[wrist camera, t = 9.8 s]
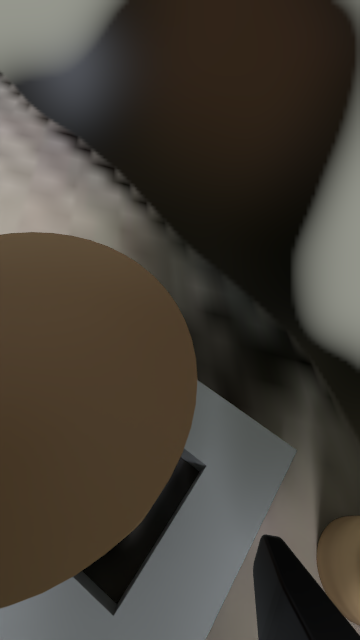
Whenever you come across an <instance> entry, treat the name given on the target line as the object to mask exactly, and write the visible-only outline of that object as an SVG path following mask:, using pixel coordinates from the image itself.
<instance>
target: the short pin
mask: <svg viewBox="0 0 360 640" xmlns="http://www.w3.org/2000/svg"><path fill="white" fill-rule="evenodd" d="M317 567H318V572H319V576H320V580H321V583H322V585H323V588H324V590H325V592H326V594H327V596H328V597H329V598H330V599H331V601H332V602H333V603H334V604H335V606H336V607H337V608H338V609H339V611H340V612H341V613H342V614H343V616H345V617H346V618H347V619H348V620H350V621H351V622H353V623H355V624H357V625H359V626H360V516H344V517H340V518H337V519H335V520H333V521H332V522H331V523H329V524H328V525H327V527H326V528H325V529H324V531H323V532H322V534H321V536H320V539H319V542H318V548H317Z"/></svg>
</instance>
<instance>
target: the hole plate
mask: <svg viewBox="0 0 360 640" xmlns="http://www.w3.org/2000/svg"><path fill="white" fill-rule="evenodd" d="M296 452H297V450H296V449H295V448H293V447H292V446H290V445H289V444H288V443H286V442H285V441H283V440H282V439H280V438H279V437H278V436H276V435H275V434H273V433H272V432H270V431H269V430H268V429H266V428H265V427H263V426H262V425H261V424H259V423H258V422H256V421H255V420H253V419H252V418H251V417H249V416H248V415H246V414H245V413H244V412H242V411H241V410H239V409H238V408H236V407H235V406H234V405H232V404H231V403H229V402H228V401H226V400H225V399H224V398H222V397H221V396H219V395H218V394H217V393H215V392H214V391H212V390H211V389H209V388H208V387H207V386H205V385H204V384H202V383H201V382H200V381H198V380H197V395H196V406H195V411H194V415H193V420H192V425H191V429H190V432H189V435H188V438H187V441H186V444H185V447H184V450H183V453H182V455H181V458H183V459H184V460H185V461H187V462H188V463H189V464H190V465H192V466H193V467H194V468H196V469H197V470H198V471H199V474H198V476H197V477H196V479H195V480H194V482H193V484H192V485H191V487H190V488H189V490H188V492H187V493H186V495H185V496H184V498H183V500H182V501H181V503H180V504H179V506H178V508H177V509H176V511H175V512H174V514H173V516H172V517H171V519H170V520H169V522H168V524H167V525H166V527H165V528H164V530H163V532H162V533H161V535H160V536H159V538H158V540H157V541H156V543H155V544H154V546H153V548H152V549H151V551H150V552H149V554H148V556H147V557H146V559H145V560H144V562H143V564H142V565H141V567H140V568H139V570H138V572H137V573H136V575H135V576H134V578H133V580H132V581H131V583H130V584H129V586H128V588H127V589H126V591H125V592H124V594H123V596H122V597H121V599H120V600H119V602H118V604H116V603H115V602H114V601H113V600H112V599H111V598H110V597H109V596H108V595H107V594H106V593H104V592H103V591H102V590H101V589H100V588H99V587H98V586H97V585H96V584H95V583H94V582H93V581H92V580H91V579H90V578H89V577H88V576H87V575H86V574H85V573H84V572H83V571H81V572H80V573H78V574H77V575H75V576H73V577H72V578H70V579H68V580H66V581H64V582H62V583H60V584H59V585H57V586H55V587H53V588H51V589H49V590H47V591H46V592H44V593H42V594H39V595H36V596H34V597H31V598H29V599H26V600H23V601H21V602H18V603H15V604H13V605H10V606H7V607H4V608H0V640H206V638H207V636H208V634H209V631H210V629H211V627H212V625H213V623H214V621H215V619H216V617H217V615H218V613H219V611H220V609H221V607H222V605H223V603H224V600H225V598H226V596H227V594H228V592H229V590H230V588H231V586H232V584H233V582H234V580H235V578H236V576H237V574H238V572H239V570H240V567H241V565H242V563H243V561H244V559H245V557H246V555H247V553H248V551H249V549H250V547H251V545H252V543H253V541H254V539H255V536H256V534H257V532H258V530H259V528H260V526H261V524H262V522H263V520H264V518H265V516H266V514H267V512H268V510H269V508H270V506H271V503H272V501H273V499H274V497H275V495H276V493H277V491H278V489H279V487H280V485H281V483H282V481H283V479H284V477H285V475H286V472H287V470H288V468H289V466H290V464H291V462H292V460H293V458H294V456H295V454H296Z"/></svg>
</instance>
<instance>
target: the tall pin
mask: <svg viewBox="0 0 360 640" xmlns="http://www.w3.org/2000/svg"><path fill="white" fill-rule="evenodd" d="M196 395H197V366H196V356H195V352H194V347H193V342H192V338H191V335H190V332H189V330H188V327H187V324H186V321H185V319H184V317H183V315H182V313H181V312H180V310H179V308H178V306H177V304H176V303H175V301H174V300H173V298H172V297H171V296H170V294H169V293H168V291H167V290H166V289H165V288H164V286H163V285H162V284H161V283H160V282H159V281H158V280H157V279H156V278H155V277H154V276H153V275H152V274H151V273H149V272H148V271H147V270H146V269H145V268H143V267H142V266H141V265H140V264H138V263H137V262H135V261H134V260H132V259H130V258H129V257H127V256H126V255H124V254H122V253H120V252H118V251H116V250H114V249H112V248H110V247H108V246H105V245H102V244H99V243H96V242H93V241H91V240H87V239H83V238H78V237H74V236H69V235H62V234H54V233H36V232H29V233H11V234H3V235H0V608H4V607H7V606H10V605H13V604H15V603H18V602H21V601H23V600H26V599H29V598H31V597H34V596H36V595H39V594H42V593H44V592H46V591H47V590H49V589H51V588H53V587H55V586H57V585H59V584H60V583H62V582H64V581H66V580H68V579H70V578H72V577H73V576H75V575H77V574H78V573H80V572H81V571H82V570H84V569H85V568H87V567H88V566H89V565H91V564H92V563H93V562H95V561H96V560H98V559H99V558H100V557H102V556H103V555H105V554H106V553H107V552H108V551H109V550H111V549H112V548H113V547H114V546H115V545H117V544H118V543H119V542H120V541H121V540H123V539H124V538H125V537H126V536H127V535H128V534H130V533H131V532H132V531H133V530H134V529H135V528H136V527H138V526H139V524H140V523H141V522H142V521H143V520H144V518H145V517H146V515H147V513H148V512H149V510H150V509H151V507H152V506H153V504H154V503H155V501H156V499H157V498H158V496H159V495H160V493H161V492H162V490H163V489H164V487H165V485H166V484H167V482H168V481H169V479H170V477H171V475H172V473H173V471H174V469H175V467H176V465H177V463H178V461H179V459H180V457H181V455H182V453H183V450H184V447H185V444H186V441H187V438H188V435H189V432H190V429H191V425H192V420H193V415H194V411H195V406H196Z"/></svg>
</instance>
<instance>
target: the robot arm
mask: <svg viewBox="0 0 360 640" xmlns="http://www.w3.org/2000/svg"><path fill="white" fill-rule="evenodd" d="M253 578H254V590H255V602H256V614H257V626H258V638H259V640H360V636H359V634H358V633H357V632H356V631H355V629H354V628H353V627H352V626H351V624H350V623H349V622H348V621H347V619H346V618H345V617H344V616H343V614H342V613H341V612H340V611H339V609H338V608H337V607H336V606H335V604H334V603H333V602H332V601H331V599H330V598H329V597H328V596H327V594H326V593H325V592H324V591H323V589H322V588H321V587H320V586H319V584H318V583H317V582H316V581H315V579H314V578H313V577H312V576H311V574H310V573H309V572H308V571H307V569H306V568H305V567H304V566H303V564H302V563H301V562H300V561H299V559H298V558H297V557H296V556H295V555H294V553H293V552H292V551H291V550H290V548H289V547H288V546H287V545H286V543H285V542H284V541H283V540H282V539H281V538H280V537H277V536H271V535H263V536H262V537H261V539H260V543H259V546H258V550H257V553H256V557H255V561H254V566H253Z"/></svg>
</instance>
